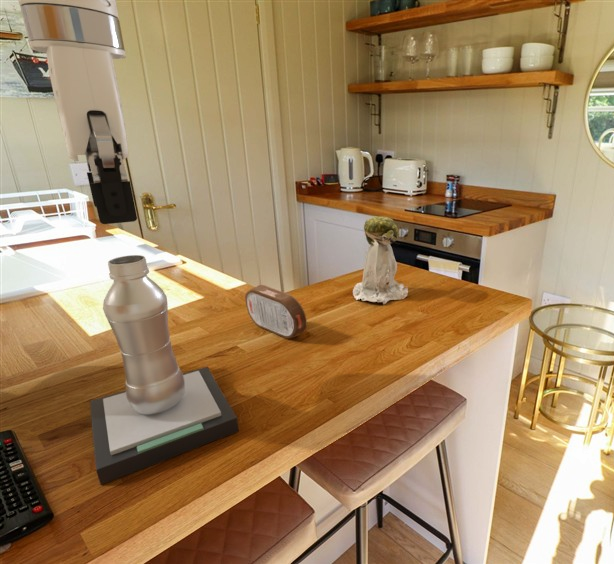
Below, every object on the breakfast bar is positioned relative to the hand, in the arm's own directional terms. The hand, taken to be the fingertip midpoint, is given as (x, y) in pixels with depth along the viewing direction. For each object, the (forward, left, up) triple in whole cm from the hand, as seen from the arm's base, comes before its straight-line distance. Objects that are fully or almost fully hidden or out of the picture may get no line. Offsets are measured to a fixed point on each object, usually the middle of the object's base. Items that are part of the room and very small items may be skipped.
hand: (114, 213), depth 47 cm
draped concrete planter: (+49, +21, -28) cm, 61 cm away
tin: (+22, +17, -28) cm, 40 cm away
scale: (0, 0, -28) cm, 28 cm away
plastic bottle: (0, 0, -26) cm, 26 cm away
